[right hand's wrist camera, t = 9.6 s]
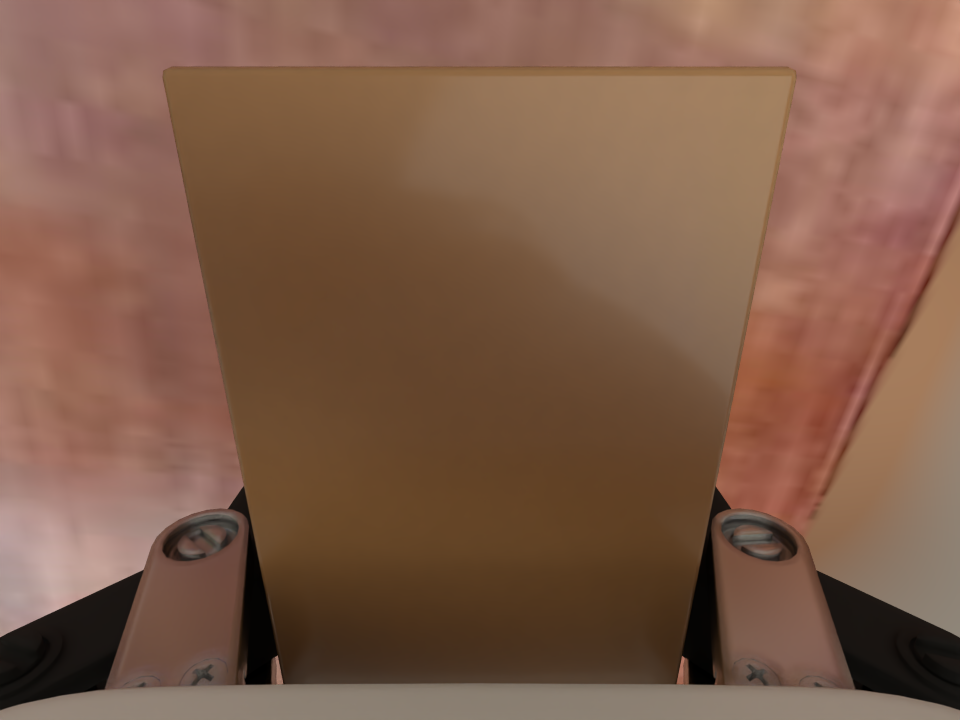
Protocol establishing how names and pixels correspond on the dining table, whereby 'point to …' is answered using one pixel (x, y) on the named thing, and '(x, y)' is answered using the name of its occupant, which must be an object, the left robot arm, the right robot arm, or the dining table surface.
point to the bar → (479, 351)
